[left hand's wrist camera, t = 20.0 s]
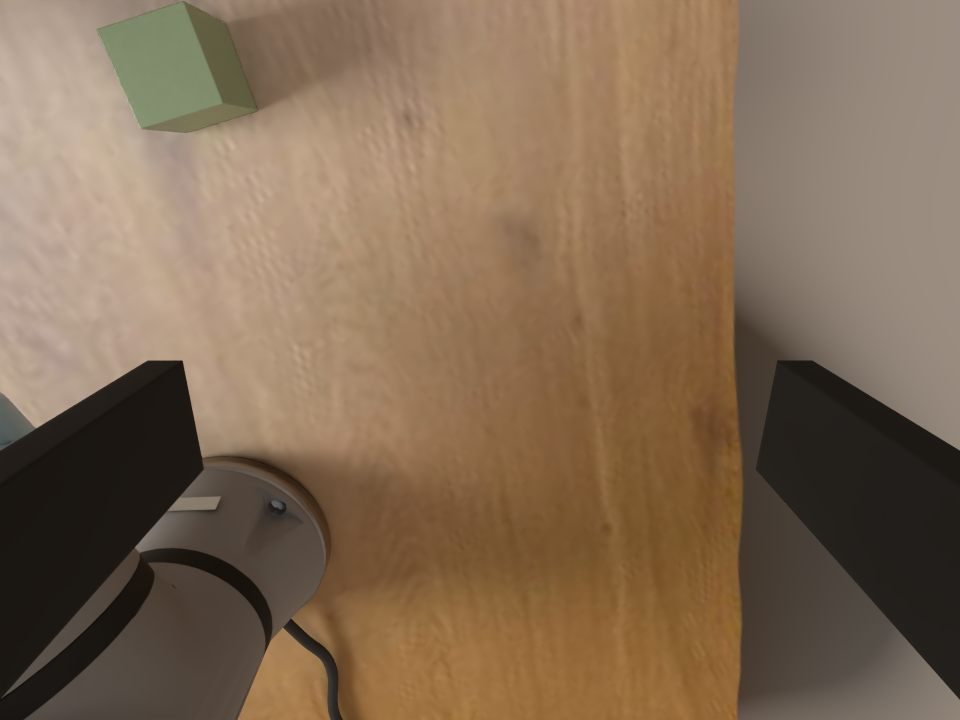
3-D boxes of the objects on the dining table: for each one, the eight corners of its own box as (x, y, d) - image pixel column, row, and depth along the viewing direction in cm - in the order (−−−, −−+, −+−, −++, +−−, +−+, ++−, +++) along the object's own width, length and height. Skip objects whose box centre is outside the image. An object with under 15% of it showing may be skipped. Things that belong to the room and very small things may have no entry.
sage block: (258, 110, 35) (223, 103, 30) (185, 133, 35) (140, 129, 30) (225, 22, 33) (183, 0, 28) (149, 47, 33) (95, 29, 29)
